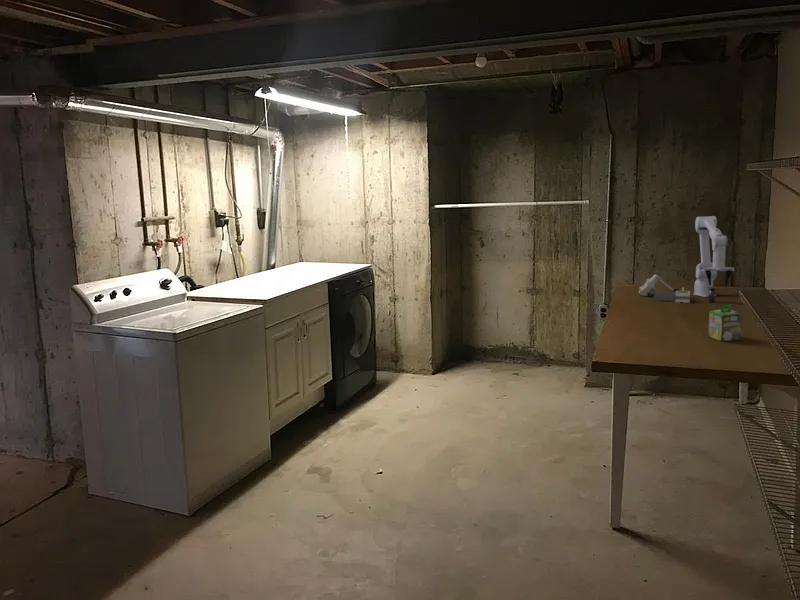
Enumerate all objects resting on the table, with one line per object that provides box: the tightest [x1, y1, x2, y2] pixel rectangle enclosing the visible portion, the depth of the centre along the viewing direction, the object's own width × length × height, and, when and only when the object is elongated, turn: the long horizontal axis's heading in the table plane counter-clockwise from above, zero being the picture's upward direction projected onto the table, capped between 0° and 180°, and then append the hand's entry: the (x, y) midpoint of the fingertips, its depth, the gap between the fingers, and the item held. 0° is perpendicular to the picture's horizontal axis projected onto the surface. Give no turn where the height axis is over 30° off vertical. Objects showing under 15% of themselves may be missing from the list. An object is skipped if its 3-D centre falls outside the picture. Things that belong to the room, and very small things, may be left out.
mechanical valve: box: [638, 273, 680, 297], centre depth 364 cm, size 10×18×15 cm
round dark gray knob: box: [708, 286, 717, 304], centre depth 339 cm, size 4×4×8 cm
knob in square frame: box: [653, 286, 691, 304], centre depth 352 cm, size 18×18×5 cm
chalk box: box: [708, 303, 743, 342], centre depth 267 cm, size 9×9×15 cm
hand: (717, 284), depth 337 cm, fingers open, 7 cm apart
